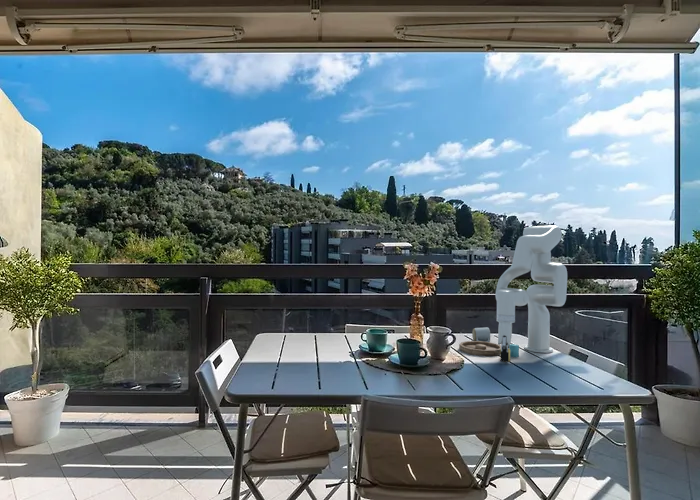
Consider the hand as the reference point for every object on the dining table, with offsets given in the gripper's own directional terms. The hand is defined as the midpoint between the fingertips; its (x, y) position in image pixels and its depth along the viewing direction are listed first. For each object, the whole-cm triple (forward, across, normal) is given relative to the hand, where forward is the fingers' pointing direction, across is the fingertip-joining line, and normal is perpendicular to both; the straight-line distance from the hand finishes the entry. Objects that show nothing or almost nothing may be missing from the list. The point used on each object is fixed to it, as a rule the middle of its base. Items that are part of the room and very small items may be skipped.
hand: (505, 358), depth 180 cm
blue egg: (+1, -10, +3) cm, 10 cm away
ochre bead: (+1, 0, 0) cm, 1 cm away
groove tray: (+1, -13, -12) cm, 18 cm away
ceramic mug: (+1, -32, -14) cm, 35 cm away
